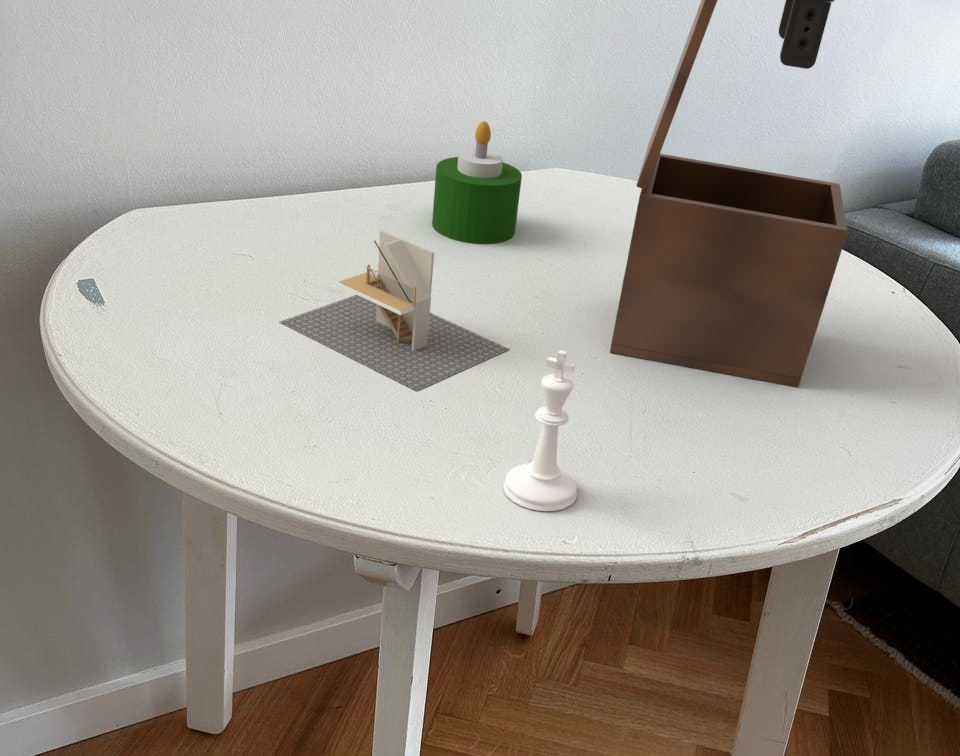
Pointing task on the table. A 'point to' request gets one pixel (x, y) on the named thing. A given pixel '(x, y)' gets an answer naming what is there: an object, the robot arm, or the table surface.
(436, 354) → the architectural model
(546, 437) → the chess piece
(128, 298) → the table surface
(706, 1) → the lid
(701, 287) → the toy box
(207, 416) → the table surface
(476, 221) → the candle
